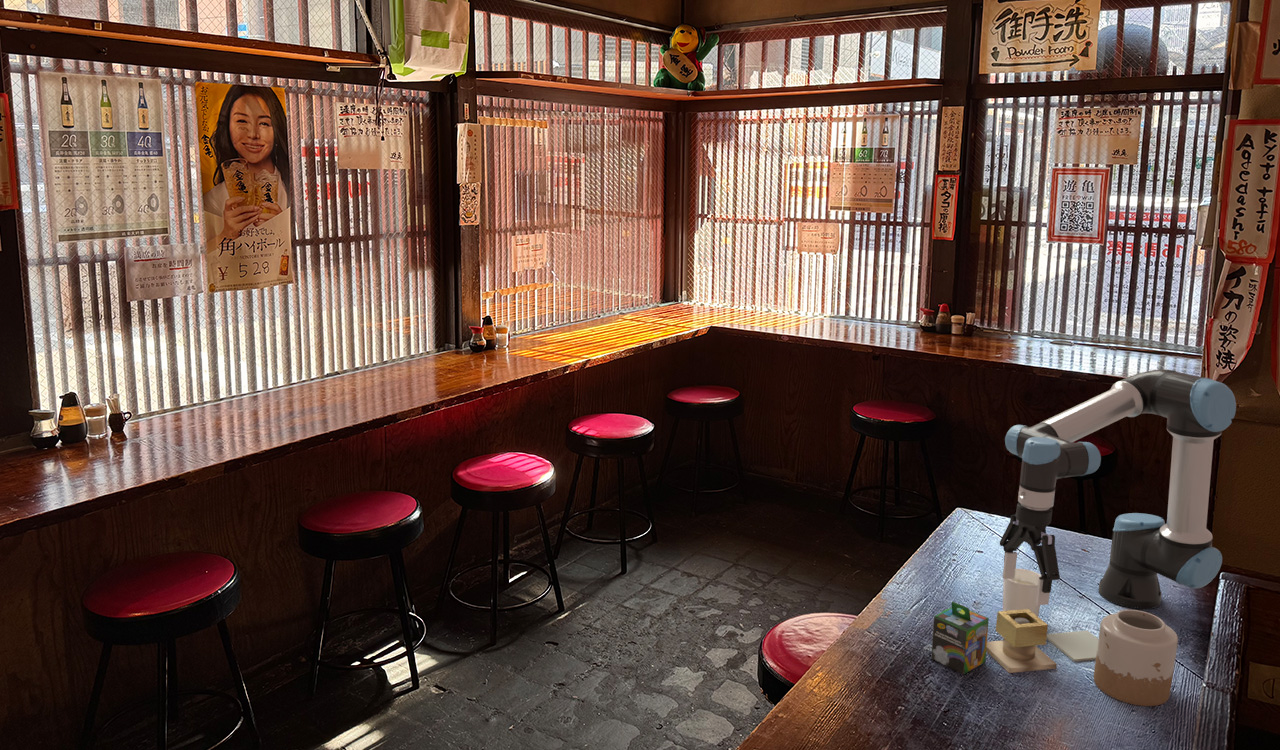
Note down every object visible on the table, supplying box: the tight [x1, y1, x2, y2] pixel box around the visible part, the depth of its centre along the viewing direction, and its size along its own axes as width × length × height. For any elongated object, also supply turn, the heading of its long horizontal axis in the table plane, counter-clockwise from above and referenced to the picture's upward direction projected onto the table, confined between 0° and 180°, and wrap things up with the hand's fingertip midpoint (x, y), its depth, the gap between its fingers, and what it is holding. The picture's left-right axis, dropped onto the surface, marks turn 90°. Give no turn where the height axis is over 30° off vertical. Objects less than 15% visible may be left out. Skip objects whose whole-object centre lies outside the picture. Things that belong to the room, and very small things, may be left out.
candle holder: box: [1002, 568, 1041, 617], centre depth 239 cm, size 10×10×12 cm
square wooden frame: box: [995, 609, 1049, 647], centre depth 221 cm, size 8×8×5 cm
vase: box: [1093, 609, 1179, 707], centre depth 208 cm, size 15×15×17 cm
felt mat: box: [1046, 630, 1099, 663], centre depth 227 cm, size 12×12×1 cm
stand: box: [986, 618, 1058, 674], centre depth 221 cm, size 12×12×10 cm
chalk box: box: [931, 601, 990, 675], centre depth 219 cm, size 9×9×15 cm
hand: (1024, 590), depth 218 cm, fingers open, 13 cm apart
